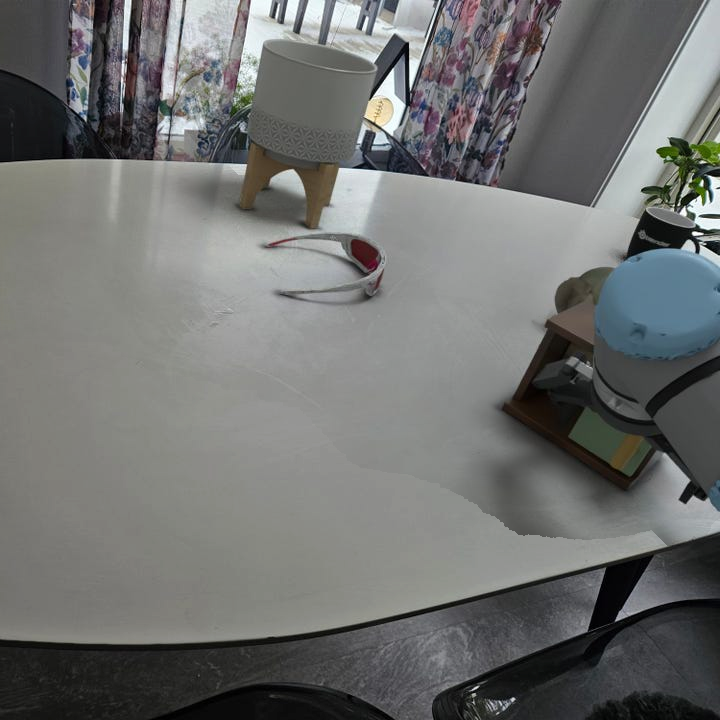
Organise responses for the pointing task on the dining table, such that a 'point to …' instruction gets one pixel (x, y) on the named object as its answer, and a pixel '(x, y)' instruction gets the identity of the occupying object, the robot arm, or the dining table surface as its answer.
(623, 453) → the sliding door
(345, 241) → the sunglasses
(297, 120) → the planter
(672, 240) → the mug
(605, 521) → the dining table surface
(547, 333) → the cupboard
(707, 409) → the robot arm
